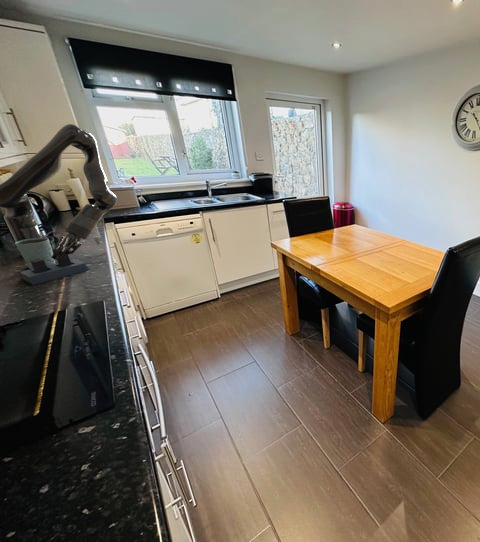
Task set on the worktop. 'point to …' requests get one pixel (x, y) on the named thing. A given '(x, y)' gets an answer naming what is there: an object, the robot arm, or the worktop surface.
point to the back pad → (66, 260)
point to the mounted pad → (39, 265)
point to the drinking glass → (35, 250)
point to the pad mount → (53, 272)
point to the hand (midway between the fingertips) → (56, 259)
